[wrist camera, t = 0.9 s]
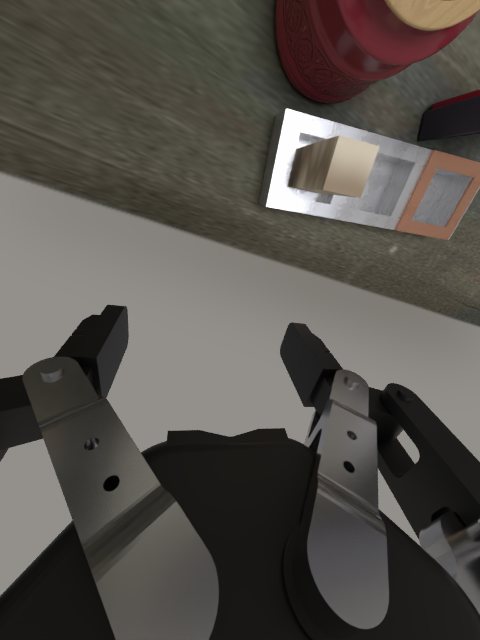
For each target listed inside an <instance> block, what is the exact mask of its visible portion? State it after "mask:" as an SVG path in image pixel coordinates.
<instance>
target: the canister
mask: <svg viewBox="0 0 480 640" xmlns="http://www.w3.org/2000/svg"><path fill="white" fill-rule="evenodd" d="M479 11H480V0H277V3H276V14H275V31H276V41H277V47H278V52H279V56H280V60H281V63H282V66H283V68H284V71H285V73H286V75H287V77H288V79H289V80H290V82H291V83H292V85H293V86H294V87H295V88H296V89H297V91H298V92H300V93H301V94H302V95H303V96H305V97H306V98H308V99H310V100H312V101H315V102H319V103H338V102H342V101H345V100H348V99H350V98H352V97H354V96H356V95H358V94H359V93H361V92H362V91H364V90H365V89H367V88H368V87H369V86H370V85H372V84H374V83H376V82H377V81H379V80H381V79H385V78H388V77H391V76H393V75H395V74H397V73H399V72H401V71H402V70H404V69H405V68H407V67H408V66H410V65H411V64H412V63H415V62H418V61H421V60H423V59H425V58H428V57H430V56H431V55H433V54H435V53H437V52H438V51H440V50H441V49H442V48H444V47H445V46H446V45H448V44H449V43H450V42H451V41H452V40H453V39H455V38H456V37H457V36H458V35H459V34H460V33H461V32H462V31H463V30H464V29H465V28H466V26H467V25H468V24H469V23H470V22H471V21H472V20H473V18H474V17H475V16H476V15H477V13H478V12H479Z"/></svg>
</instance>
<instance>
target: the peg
mask: <svg viewBox="0 0 480 640" xmlns="http://www.w3.org/2000/svg"><path fill="white" fill-rule="evenodd" d="M379 148H380V146H377V145H373V144H369V143H366V142H362V141H358V140H355V139H351V138H347V137H344V136H340V135H339V136H335V137H332V138H329V139H326V140H323V141H319V142H316V143H313V144H310V145H307V146H303V147H300V148H297V149H296V152H295V156H294V160H293V164H292V169H291V173H290V177H289V181H288V186H287V187H290V188H295V189H299V190H304V191H309V192H314V193H322V194H330V195H339V196H348V197H357V198H361V195H362V193H363V190H364V187H365V185H366V182H367V179H368V177H369V174H370V172H371V169H372V166H373V164H374V161H375V158H376V156H377V153H378V150H379Z"/></svg>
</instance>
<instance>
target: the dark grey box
mask: <svg viewBox="0 0 480 640" xmlns="http://www.w3.org/2000/svg"><path fill="white" fill-rule="evenodd" d="M477 133H480V89H477V90H476V91H473V92H469V93H466V94H463V95H460V96H457V97H454V98H451V99H447V100H444V101H441V102H438V103H435V104H433V106H432V110H428V111H426V112H425V113H424V118H423V122H422V126H421V130H420V134H419V139H418V141H424V140H432V139H439V138H447V137H455V136H462V135H470V134H477Z"/></svg>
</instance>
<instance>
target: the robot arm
mask: <svg viewBox="0 0 480 640" xmlns="http://www.w3.org/2000/svg"><path fill="white" fill-rule="evenodd" d="M127 344H128V314H127V307H126V306H116V305H107V306H106V307H105V309H104V310H103V312H102V313H101V315H91V316H90V317H88V318H86V319H84V320H83V321H82V322H81V323H80V325H79V326H78V327H77V329H76V330H75V331H74V332H73V333H72V336H70V337H69V338H68V340H67V341H66V342H65V344H64V345H63V346H62V347H61V349H60V350H59V351H58V352H57V354H56V355H55V356H54V357H52V358H48V359H44V360H41V361H39V362H37V363H35V364H33V365H32V366H30V367H29V368H28V369H27V370H26V371H25V372H24V374H23V375H20V376H15V377H9V378H3V379H0V461H1V460H2V458H3V456H4V455H5V453H6V452H7V450H8V448H10V447H14V446H17V445H21V444H25V443H28V442H32V441H36V440H39V439H44V441H45V444H46V447H47V450H48V453H49V455H50V458H51V461H52V464H53V466H54V469H55V472H56V475H57V477H58V480H59V483H60V486H61V489H62V491H63V494H64V497H65V500H66V502H67V505H68V508H69V511H70V513H71V516H72V519H73V521H72V522H71V523H70V524H69V525H68V526H67V527H66V528H65V529H64V530H63V531H62V532H61V533H60V534H59V535H58V536H57V537H56V538H55V540H54V541H53V542H52V543H51V544H50V545H49V546H48V547H47V548H46V549H45V550H44V551H43V552H42V553H41V554H40V555H39V556H38V557H37V558H36V560H34V561H33V562H32V564H31V565H30V566H29V567H28V568H27V569H26V570H25V571H24V572H23V573H22V574H21V575H20V576H19V577H18V578H17V579H16V580H15V581H14V583H12V585H10V587H9V588H8V589H7V590H6V591H5V592H4V593H3V594H2V595H1V596H0V640H480V462H479V461H478V460H477V459H476V458H475V457H474V456H473V454H472V453H471V452H470V451H469V450H468V449H467V448H466V447H465V446H464V445H463V444H462V443H461V442H460V441H459V440H458V439H457V438H456V436H455V435H454V434H453V433H452V432H451V431H450V430H449V429H448V428H447V427H446V426H445V425H444V424H443V423H442V422H441V421H440V419H439V418H438V417H437V416H436V415H435V414H434V413H433V412H432V411H431V410H430V409H429V408H428V407H427V406H426V405H425V403H424V402H423V401H422V400H421V399H420V398H419V397H418V396H417V395H416V394H415V393H413V392H412V391H411V390H409V389H407V388H405V387H404V386H402V385H399V384H394V383H391V384H388V385H387V386H386V388H385V389H384V390H383V391H381V390H378V389H374V388H371V387H368V384H367V383H366V381H365V380H364V379H363V378H362V377H360V376H359V375H357V374H356V373H354V372H351V371H348V370H343V369H342V367H341V366H340V364H339V363H338V362H337V360H336V359H335V358H334V356H333V355H332V354H331V353H330V351H329V350H328V349H327V348H326V346H325V345H324V343H323V342H322V341H321V339H319V338H318V337H317V336H315V335H314V334H312V333H311V331H310V330H309V328H308V327H307V326H306V325H305V324H300V323H290V324H289V325H288V328H287V330H286V333H285V336H284V339H283V342H282V344H281V349H280V355H281V358H282V360H283V362H284V365H285V367H286V369H287V371H288V373H289V375H290V377H291V380H292V382H293V384H294V386H295V388H296V390H297V392H298V395H299V397H300V399H301V401H302V403H303V406H304V407H315V409H316V410H315V412H314V414H313V417H312V420H311V423H310V426H309V430H308V433H307V436H306V439H305V443H304V444H302V443H300V442H297V441H295V440H293V439H290V438H288V437H287V434H286V431H285V429H284V428H280V429H257V430H253V431H250V432H247V433H244V434H240V435H237V436H233V437H227V436H223V435H218V434H214V433H209V432H205V431H200V430H190V431H168V436H167V441H165V442H162V443H159V444H157V445H154V446H152V447H150V448H148V449H146V450H145V451H143V452H140V451H139V449H138V448H137V446H136V445H135V443H134V441H133V440H132V438H131V437H130V435H129V434H128V432H127V430H126V429H125V427H124V426H123V424H122V422H121V421H120V419H119V418H118V416H117V415H116V413H115V411H114V410H113V408H112V406H111V405H110V403H109V402H108V400H107V399H106V397H107V395H108V392H109V390H110V388H111V385H112V383H113V380H114V378H115V375H116V373H117V370H118V368H119V365H120V363H121V361H122V358H123V355H124V353H125V350H126V348H127ZM402 430H404V431H405V432H406V433H407V435H408V436H409V437H410V439H412V441H413V442H414V444H415V445H416V447H417V448H418V450H419V453H420V458H419V461H418V462H417V463H416V464H414V462H413V461H412V459H411V458H410V457H409V455H408V454H407V452H406V451H405V449H404V448H403V447H402V445H401V444H400V442H399V441H398V440H397V438H396V437H397V436H398V435H399V434H400V433H401V432H402ZM378 469H379V470H380V472H381V474H382V476H383V477H384V479H385V481H386V483H387V484H388V486H389V488H390V490H391V491H392V493H393V495H394V497H395V498H396V500H397V502H398V503H399V505H400V507H401V509H402V510H403V512H404V514H405V516H406V518H407V520H408V521H409V523H410V525H411V526H412V528H413V530H414V532H415V533H416V535H417V537H418V539H419V541H420V545H421V547H420V546H419V545H418V544H417V543H416V542H415V541H414V540H412V538H410V537H409V536H408V535H407V534H406V533H405V532H404V531H403V530H401V529H400V528H399V527H398V526H397V525H396V524H395V523H394V522H393V521H392V520H390V519H389V518H388V517H387V516H386V515H385V514H384V513H383V512H381V511H380V510H379V509H378Z"/></svg>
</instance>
